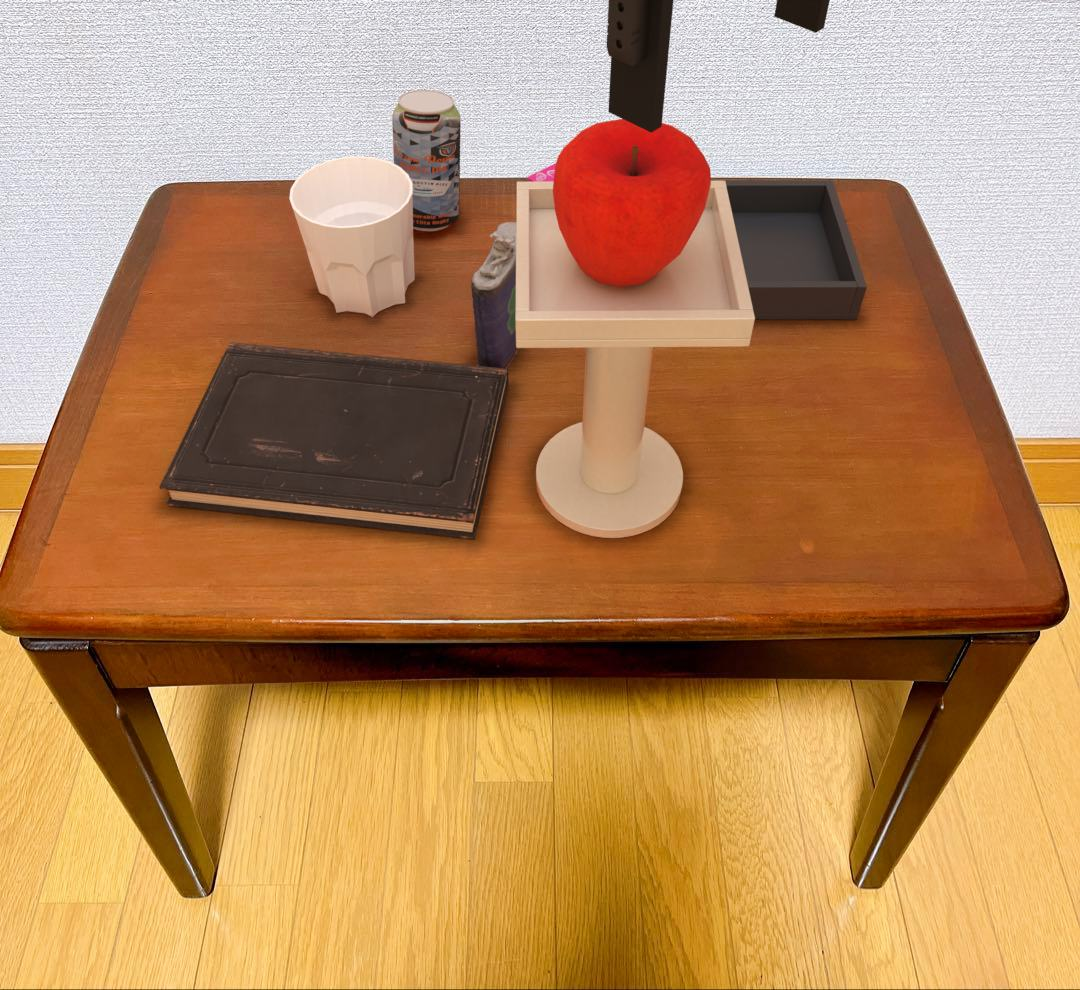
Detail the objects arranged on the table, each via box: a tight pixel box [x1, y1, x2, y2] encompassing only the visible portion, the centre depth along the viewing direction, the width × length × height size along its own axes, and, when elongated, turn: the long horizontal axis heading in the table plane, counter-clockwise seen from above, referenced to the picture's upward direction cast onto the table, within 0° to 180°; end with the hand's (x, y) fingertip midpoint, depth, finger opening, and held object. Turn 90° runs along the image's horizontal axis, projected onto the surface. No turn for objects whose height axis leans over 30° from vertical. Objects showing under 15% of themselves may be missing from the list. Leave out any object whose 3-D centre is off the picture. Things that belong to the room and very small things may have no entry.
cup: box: [289, 155, 416, 318], centre depth 87 cm, size 10×10×10 cm
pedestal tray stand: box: [515, 180, 755, 539], centre depth 68 cm, size 13×13×22 cm
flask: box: [470, 221, 520, 369], centre depth 82 cm, size 9×3×11 cm, turn 165°
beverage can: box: [391, 89, 461, 232], centre depth 93 cm, size 6×7×12 cm
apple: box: [553, 118, 712, 287], centre depth 58 cm, size 9×9×8 cm
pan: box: [724, 179, 868, 321], centre depth 91 cm, size 16×16×4 cm
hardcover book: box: [158, 341, 509, 540], centre depth 78 cm, size 16×23×2 cm
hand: (721, 68), depth 52 cm, fingers open, 13 cm apart
